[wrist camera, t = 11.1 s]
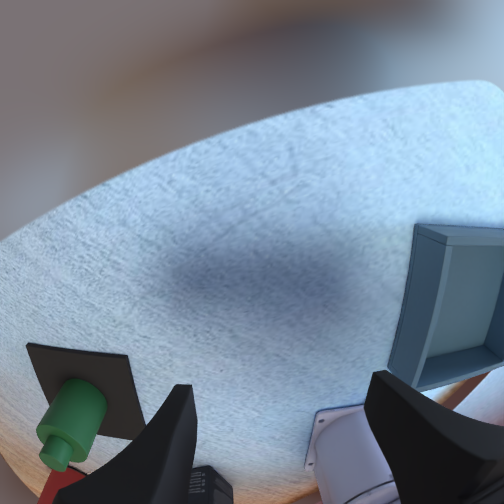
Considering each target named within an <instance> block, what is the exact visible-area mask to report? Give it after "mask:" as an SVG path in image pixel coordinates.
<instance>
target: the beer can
mask: <svg viewBox="0 0 504 504" xmlns="http://www.w3.org/2000/svg"><path fill="white" fill-rule="evenodd" d="M84 477H86V475H84V474H82V473H81V472H79V471H77V470H75V469H72V468H70V467H67V468H66V471H64V472H59V471H56V470H54V469H52V471H51V473H50V475H49V477H48V480H47V482H46V484H45V486H44V489H43V491H42V493H41V496H40V498H39V501H38V503H37V504H52V502H53V499H54V497H55V495H56V494H57V492H58V490H59V489H61V488H64V487H66V486H68V485H70V484H72V483H74V482H76V481H79V480H81V479H82V478H84Z"/></svg>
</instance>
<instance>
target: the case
mask: <svg viewBox="0 0 504 504" xmlns="http://www.w3.org/2000/svg"><path fill="white" fill-rule="evenodd" d="M502 366H504V229H497V228H483V227H467V226H450V225H432V224H415V229H414V238H413V246H412V253H411V260H410V267H409V273H408V279H407V285H406V290H405V296H404V301H403V306H402V311H401V315H400V320H399V325H398V329H397V333H396V337H395V341H394V345H393V349H392V353H391V357H390V361H389V364H388V368H389V370H390V371H391V373H392V374H393V375H394V376H396V377H397V378H399V379H400V380H402V381H403V382H405V383H406V384H408V385H409V386H411V387H412V388H414V389H415V390H417V391H418V392H424V391H427V390H431V389H435V388H438V387H442V386H445V385H449V384H452V383H456V382H459V381H462V380H465V379H468V378H471V377H474V376H477V375H480V374H483V373H486V372H488V371H491V370H494V369H496V368H499V367H502Z"/></svg>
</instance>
